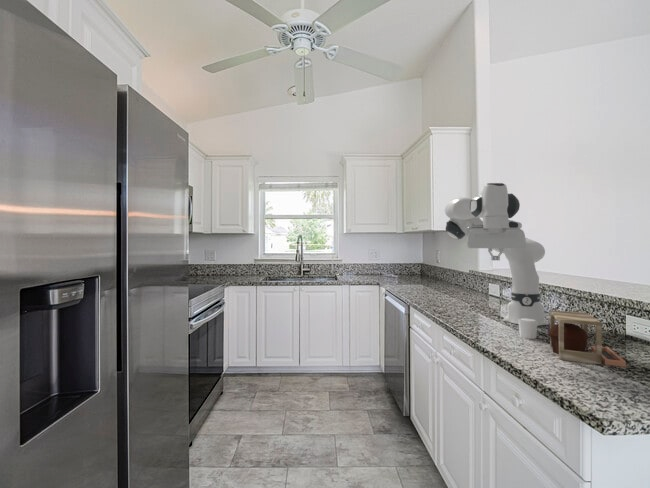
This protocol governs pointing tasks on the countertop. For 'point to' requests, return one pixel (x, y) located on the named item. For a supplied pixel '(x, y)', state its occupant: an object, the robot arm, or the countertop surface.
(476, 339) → the countertop surface
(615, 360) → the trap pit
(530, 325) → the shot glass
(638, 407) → the countertop surface
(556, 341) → the muffin
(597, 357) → the tunnel
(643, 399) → the countertop surface
